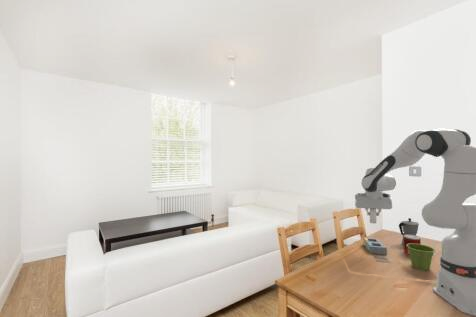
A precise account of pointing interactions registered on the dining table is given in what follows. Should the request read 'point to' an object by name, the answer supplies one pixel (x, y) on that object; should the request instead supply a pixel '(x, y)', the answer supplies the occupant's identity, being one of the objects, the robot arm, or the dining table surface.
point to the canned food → (410, 241)
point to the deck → (381, 258)
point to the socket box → (374, 246)
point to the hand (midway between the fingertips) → (373, 215)
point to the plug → (372, 215)
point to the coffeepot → (408, 228)
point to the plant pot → (420, 255)
